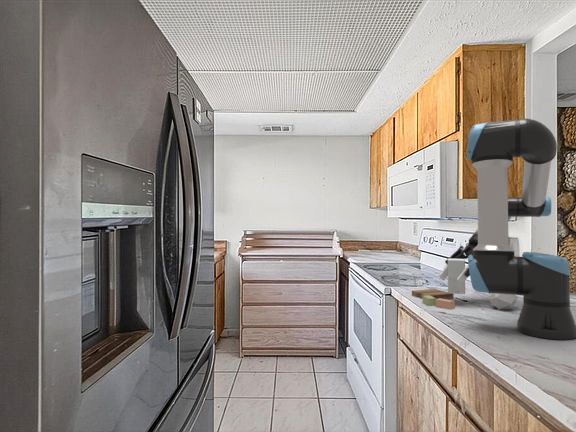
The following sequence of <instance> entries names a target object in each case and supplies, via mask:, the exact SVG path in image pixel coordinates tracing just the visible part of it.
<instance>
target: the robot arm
mask: <svg viewBox="0 0 576 432" xmlns="http://www.w3.org/2000/svg"><path fill="white" fill-rule="evenodd" d="M469 130H470V131H469V134H468V140H467V151H466V158H467V161H470V162H471V166H472V167H473V168H474V169H475V170H476V171H477V172H476V173H477V185H476V186H477V229H476V230H475V231H474V233H473V234H472V236H470V238H469V239H468V245H466V246H465V247H464V246H463V245H460V246H459V248H458V249H457V250H455V251H454V252H453V253H452V254H451V255H450V256H449V257H448V258H447V259H446V260H445V261H444V262H445V264H446V265H445V267H443V269H442V271H441V273H440V274H439V275H438V277H439V278H440V280H442V281H445V280H446V279H447V278H448V259H449V258H451V259H465V260H468V262H467V263H468V264H467V266H465V269H464V271H463V272H462V273H461V274H460V276H459V277H458V278H457V280H458V281H459V283H460V284H463V283H464V281H465V282H466V280H467V279H468V278H470V282H471V287H472V289H473V290H474V291H475V292H478V293H485V294H486V293H487V294H489V295H490V294H492V293H496V294H511V295H516V296H523V302H522V303H523V305H522V306H521V307H522V308H521V310H520V312H519V317H518V319H517V321H516V328H517V331H518V332H520V333H522V334H524V335H527V336H532V337H536V338H539V339H540V338H541V339H547V340H561V341H562V340H574V339H576V322H575V321H576V320H575V319H574V316H573V313H572V310H571V297H570V296H571V295H570V293H571V292H570V289H571V288H570V285H571V284H570V276H571V273H570V272H571V271H570V263H569V261H568V259H566V258H565V257H564V256H563V257H562V256H559V255H554V254H550V253H549V254H548V253H542V252H533V251H524V252H522V254H521V256H516V255H515V250H514V249H513V248H512V246H510V245H509V243H510V242H509V221H510V220H511V218H519V217H520V218H523V217H527V218H528V217H530V218H533V217H534V218H540V217H549V216H550V215H551V214H552V198H551V197H550V196H547V193H548V188H549V187H548V186H549V178H550V171H551V167H552V166H551V164H552V162H553V160H554V159H555V158H556V156H557V155H556V154H557V151H558V149H557V148H558V143H557V140H556V137H555V136H554V134H553V132H552V131H551V129H549V128H548V127H547V126H546V125H545V124H543V123H542V122H541V121H538V120H535V119H532V118H519V119H510V120H507V119H506V120H501V121H499V120H498V121H486V122H483V123H477V124H474V125H472V127H471V128H470V129H469ZM520 157H521V158H522V160H523V177H522V192H521V195H522V196H519V197H516V196H515V197H512V196H511V197H510V196H508V195H509V193H508V192H509V191H508V188H509V187H508V183H509V181H508V169H509V167H511V166H512V165H513V164H514V160H513V158H520Z"/></svg>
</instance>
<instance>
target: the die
mask: <svg viewBox="0 0 576 432" xmlns="http://www.w3.org/2000/svg"><path fill="white" fill-rule="evenodd" d="M518 298H519V297H518V295H511V294H496V293H491V295H490V296H489V299H488V300H489V301H490V302H491V303H492V305H494V307H495V308H497V310H498V311H499V310H502V311H503V310H504V311H505V310H508V309H509V310H513V309H514V307H515V304H516V302H517V300H518ZM509 310H508V311H509Z"/></svg>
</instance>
